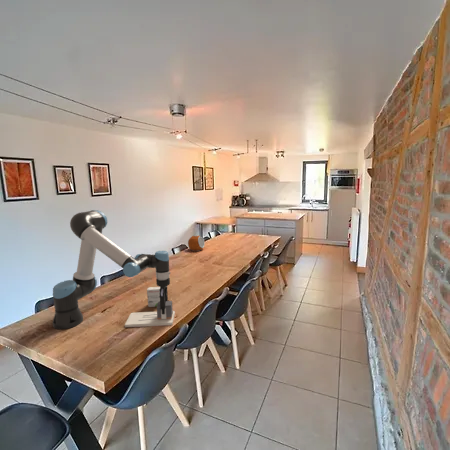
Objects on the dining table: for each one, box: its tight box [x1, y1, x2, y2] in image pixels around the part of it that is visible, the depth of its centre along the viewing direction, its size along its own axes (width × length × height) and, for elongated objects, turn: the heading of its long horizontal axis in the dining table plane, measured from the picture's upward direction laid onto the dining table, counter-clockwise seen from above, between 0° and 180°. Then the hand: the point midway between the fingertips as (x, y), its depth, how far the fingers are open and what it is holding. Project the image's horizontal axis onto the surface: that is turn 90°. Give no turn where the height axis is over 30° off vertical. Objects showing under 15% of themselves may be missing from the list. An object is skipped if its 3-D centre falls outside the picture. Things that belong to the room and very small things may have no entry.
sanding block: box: [156, 300, 174, 319], centre depth 160 cm, size 8×6×8 cm
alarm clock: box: [187, 234, 205, 252], centre depth 319 cm, size 19×18×17 cm
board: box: [124, 310, 176, 328], centre depth 161 cm, size 26×14×2 cm, turn 94°
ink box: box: [146, 286, 160, 308], centre depth 179 cm, size 9×5×12 cm, turn 96°
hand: (164, 315), depth 161 cm, fingers closed on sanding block, 6 cm apart
